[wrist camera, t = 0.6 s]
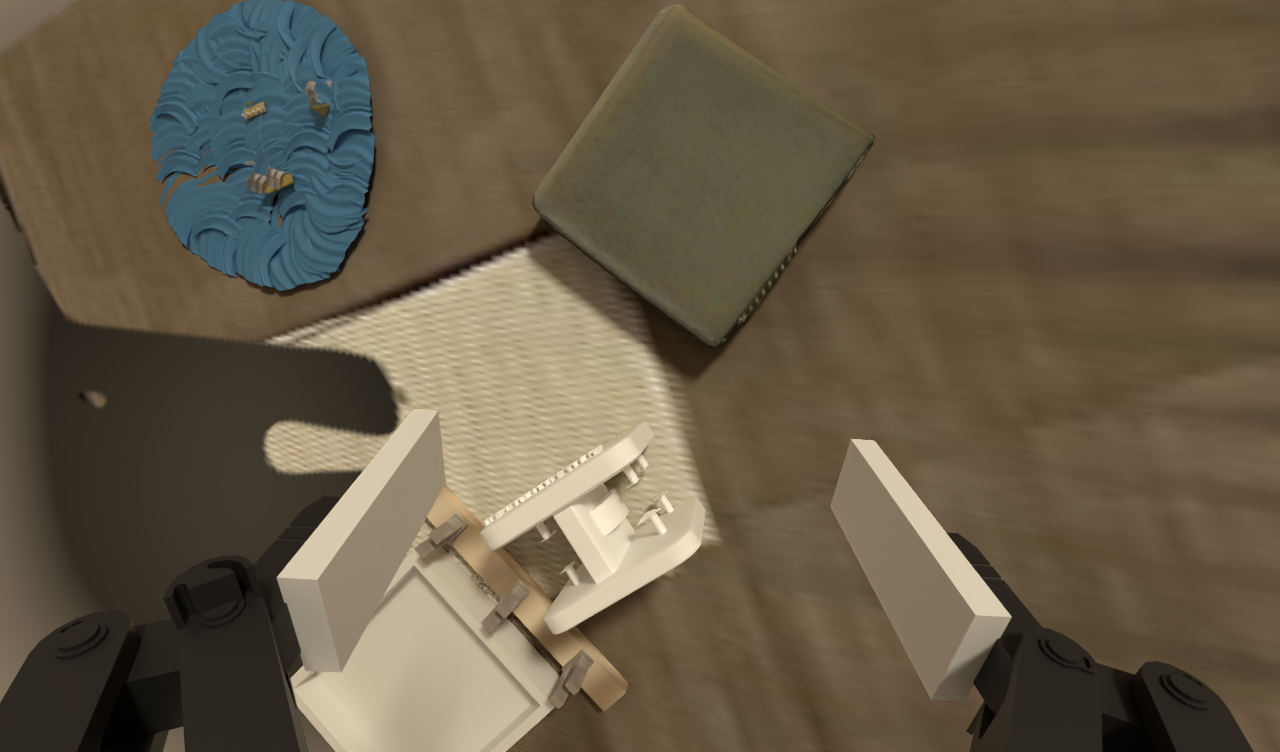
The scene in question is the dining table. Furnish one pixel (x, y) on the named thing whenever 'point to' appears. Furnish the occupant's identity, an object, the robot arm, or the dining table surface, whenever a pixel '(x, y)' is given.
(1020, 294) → the dining table surface
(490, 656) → the holder tray
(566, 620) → the cable organizer
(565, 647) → the cable clip rail
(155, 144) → the blue wave plaque
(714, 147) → the network switch
